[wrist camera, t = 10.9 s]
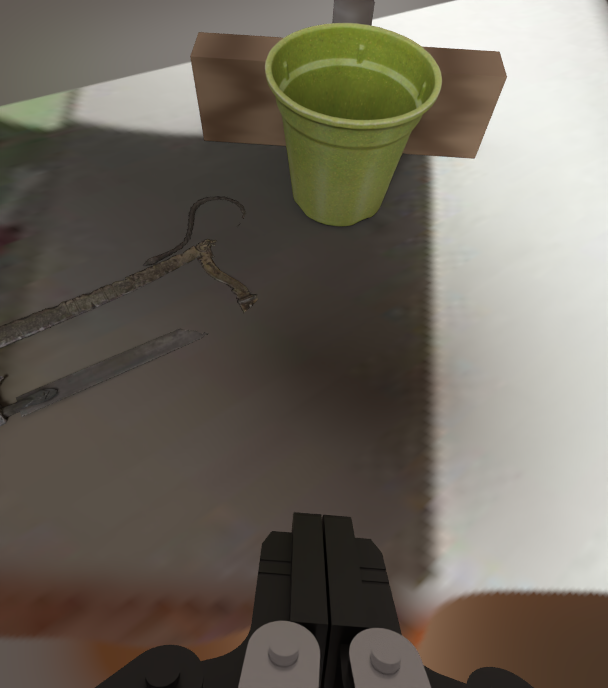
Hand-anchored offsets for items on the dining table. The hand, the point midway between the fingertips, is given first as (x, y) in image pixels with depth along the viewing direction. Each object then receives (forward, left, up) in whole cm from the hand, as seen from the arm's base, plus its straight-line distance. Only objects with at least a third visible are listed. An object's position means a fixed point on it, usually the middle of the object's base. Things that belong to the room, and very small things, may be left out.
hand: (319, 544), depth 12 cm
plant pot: (+1, +24, -9) cm, 26 cm away
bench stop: (+1, +30, -9) cm, 32 cm away
